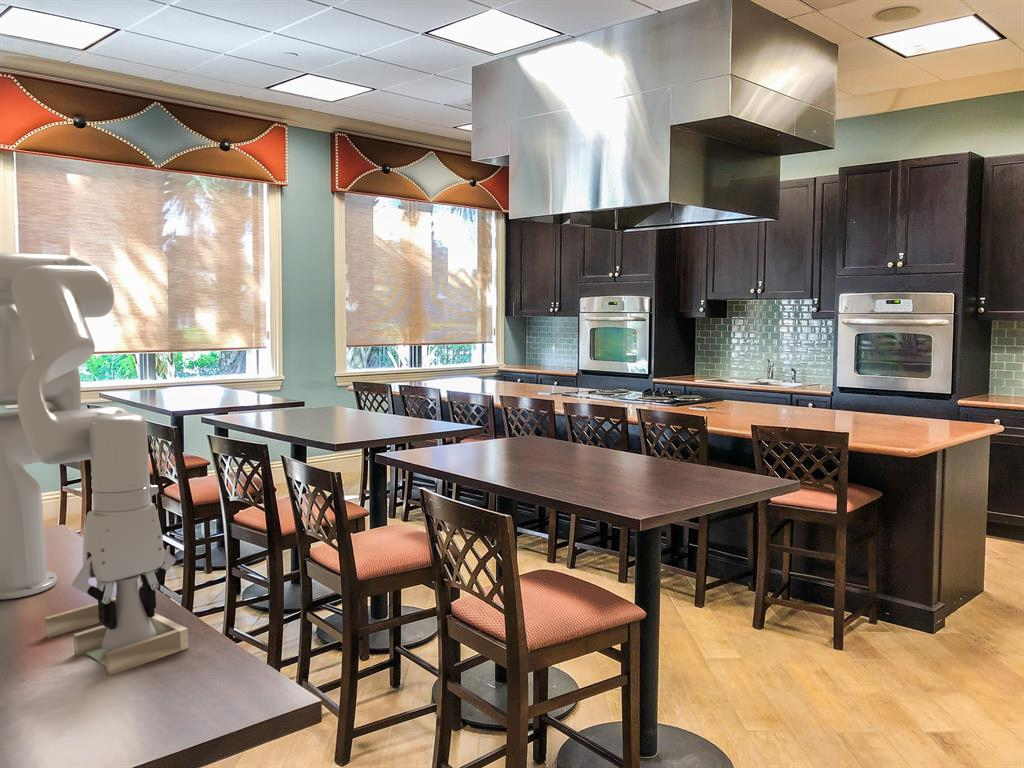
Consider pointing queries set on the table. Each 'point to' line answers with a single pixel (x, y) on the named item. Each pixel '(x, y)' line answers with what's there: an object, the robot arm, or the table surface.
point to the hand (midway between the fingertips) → (128, 619)
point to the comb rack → (123, 658)
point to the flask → (128, 617)
